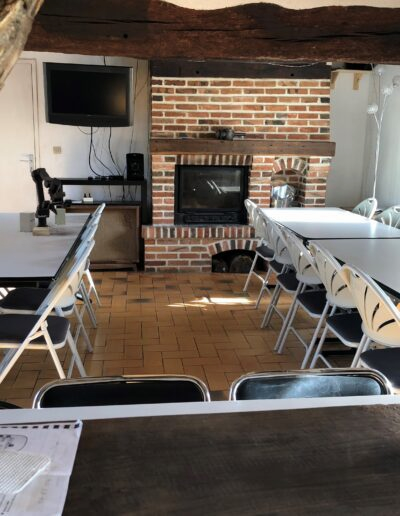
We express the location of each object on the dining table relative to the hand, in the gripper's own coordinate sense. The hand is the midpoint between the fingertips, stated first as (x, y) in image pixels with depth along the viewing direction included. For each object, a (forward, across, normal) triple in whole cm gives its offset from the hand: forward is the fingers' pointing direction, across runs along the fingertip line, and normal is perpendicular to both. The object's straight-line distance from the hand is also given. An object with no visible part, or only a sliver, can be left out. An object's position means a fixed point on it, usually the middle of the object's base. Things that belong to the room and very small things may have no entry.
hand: (60, 214), depth 344 cm
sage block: (+4, 0, +6) cm, 7 cm away
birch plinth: (+5, -10, +15) cm, 19 cm away
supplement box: (-6, -14, +26) cm, 30 cm away
